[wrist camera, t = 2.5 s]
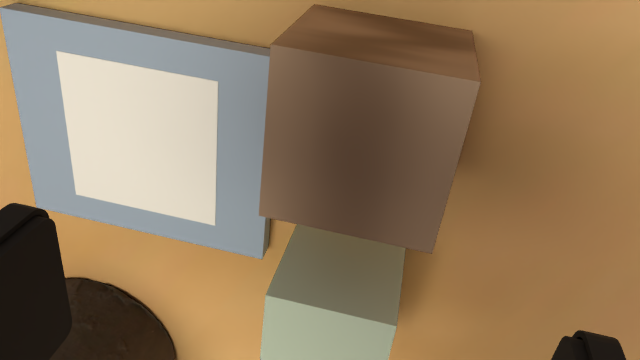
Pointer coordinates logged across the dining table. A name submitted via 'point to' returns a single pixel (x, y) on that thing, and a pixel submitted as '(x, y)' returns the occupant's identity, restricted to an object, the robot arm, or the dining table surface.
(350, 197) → the walnut block
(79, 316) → the pillar candle
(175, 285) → the dining table surface
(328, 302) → the green block
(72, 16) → the blueprint board
